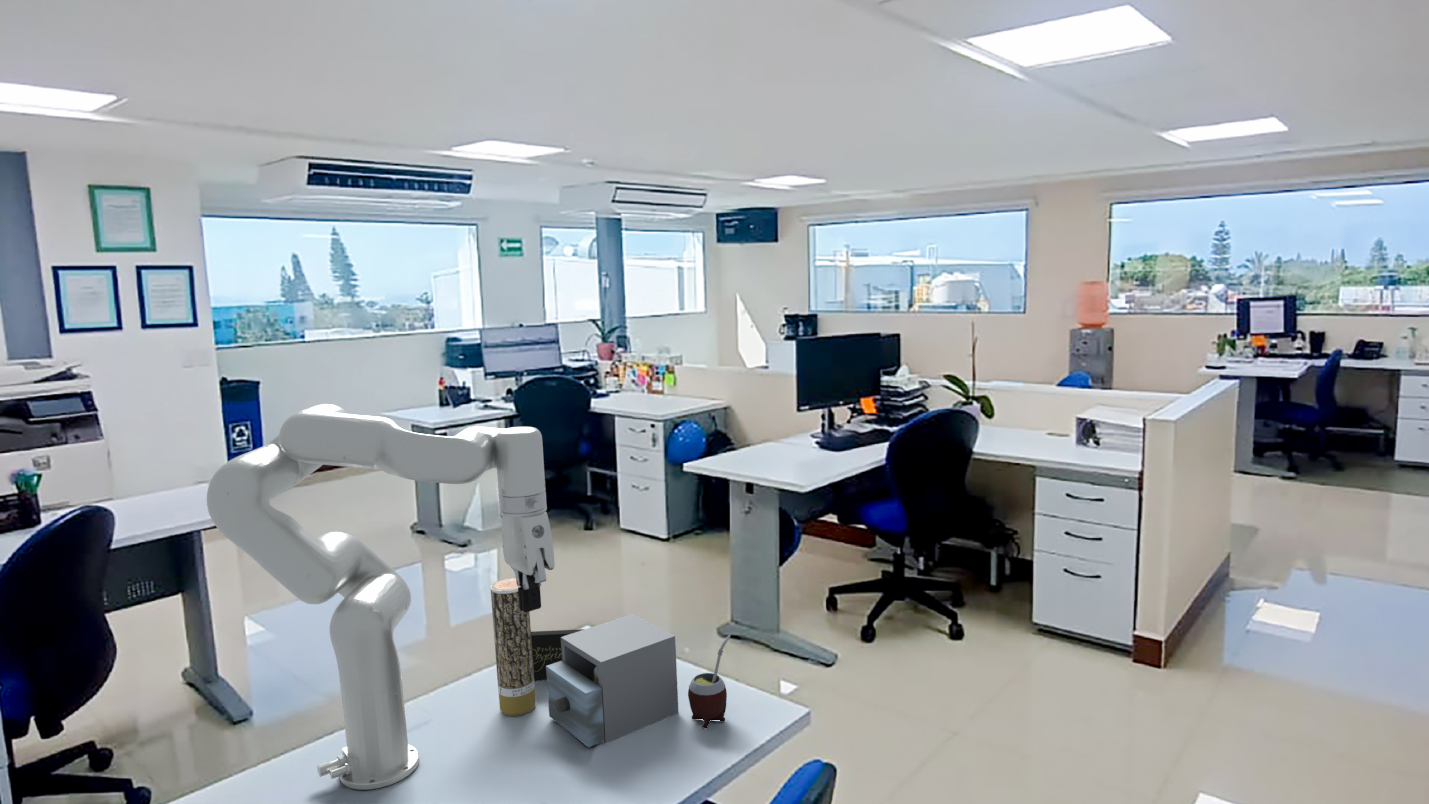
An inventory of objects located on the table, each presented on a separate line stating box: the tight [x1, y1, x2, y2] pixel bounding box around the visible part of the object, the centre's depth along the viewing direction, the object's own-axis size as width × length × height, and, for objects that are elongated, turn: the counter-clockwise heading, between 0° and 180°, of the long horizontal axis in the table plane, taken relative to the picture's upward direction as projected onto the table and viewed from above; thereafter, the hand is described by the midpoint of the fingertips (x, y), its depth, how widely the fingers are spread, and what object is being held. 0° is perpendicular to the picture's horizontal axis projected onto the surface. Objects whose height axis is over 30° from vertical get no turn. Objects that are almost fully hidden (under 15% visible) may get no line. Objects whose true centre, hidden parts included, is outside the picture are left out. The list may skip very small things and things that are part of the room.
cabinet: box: [561, 613, 679, 744], centre depth 161 cm, size 16×14×15 cm
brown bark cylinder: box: [490, 577, 537, 717], centre depth 163 cm, size 7×7×25 cm
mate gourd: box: [687, 633, 732, 729], centre depth 157 cm, size 8×8×15 cm
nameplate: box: [531, 628, 585, 682], centre depth 176 cm, size 21×2×10 cm, turn 92°
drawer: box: [546, 661, 605, 748], centre depth 159 cm, size 19×14×10 cm
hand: (530, 608), depth 143 cm, fingers closed
